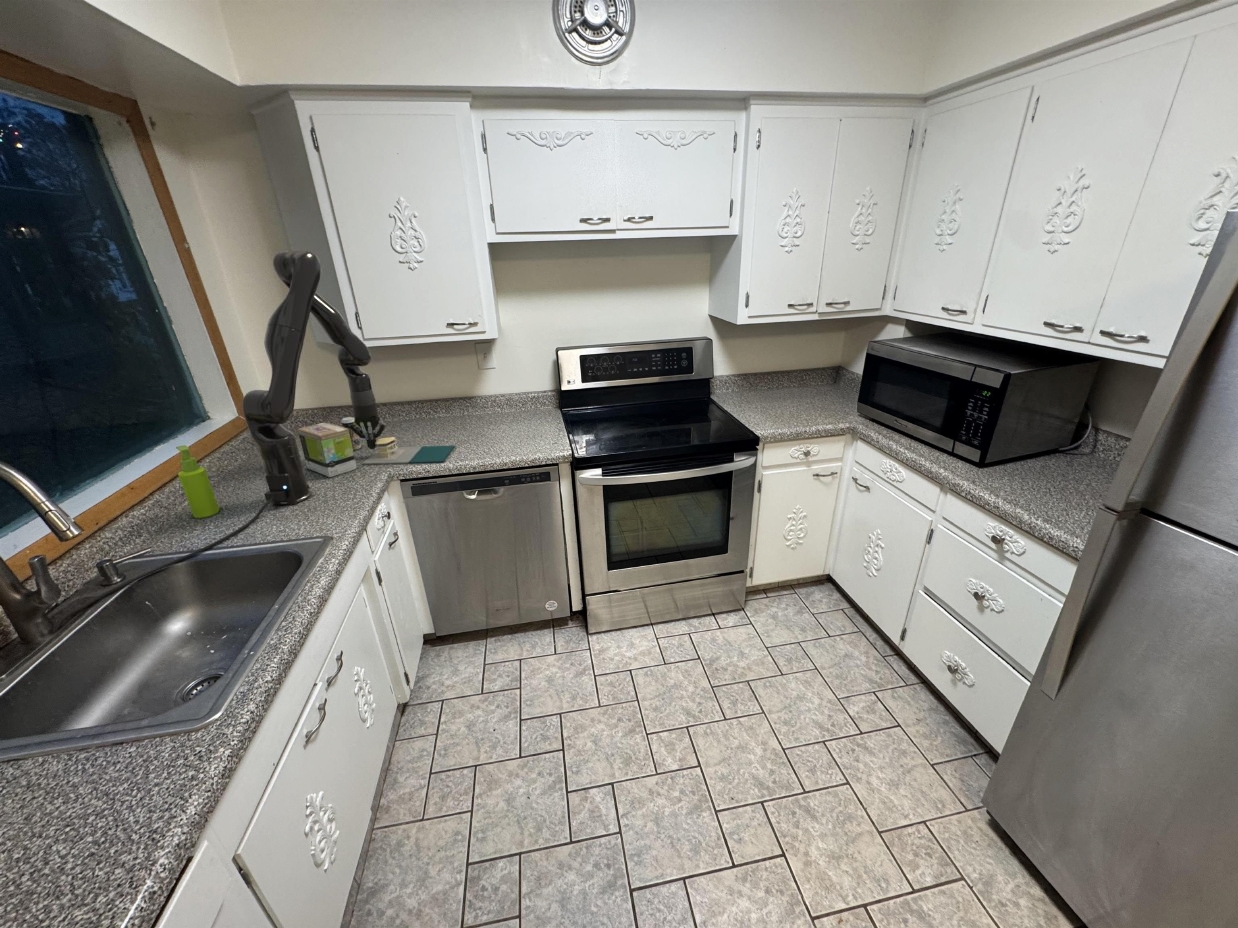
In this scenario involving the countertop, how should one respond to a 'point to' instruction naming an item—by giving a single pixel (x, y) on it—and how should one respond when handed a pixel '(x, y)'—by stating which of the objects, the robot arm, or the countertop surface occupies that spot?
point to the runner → (415, 455)
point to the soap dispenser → (196, 486)
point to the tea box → (327, 449)
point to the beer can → (351, 432)
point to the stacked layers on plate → (387, 449)
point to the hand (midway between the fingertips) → (372, 448)
